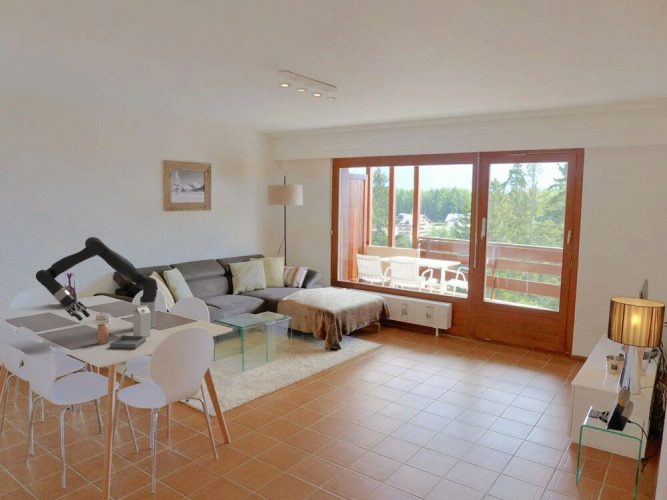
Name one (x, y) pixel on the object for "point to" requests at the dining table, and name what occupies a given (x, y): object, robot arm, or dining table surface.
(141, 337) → the tray
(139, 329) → the milk carton
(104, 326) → the tan cylinder
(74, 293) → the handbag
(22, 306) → the dining table surface
